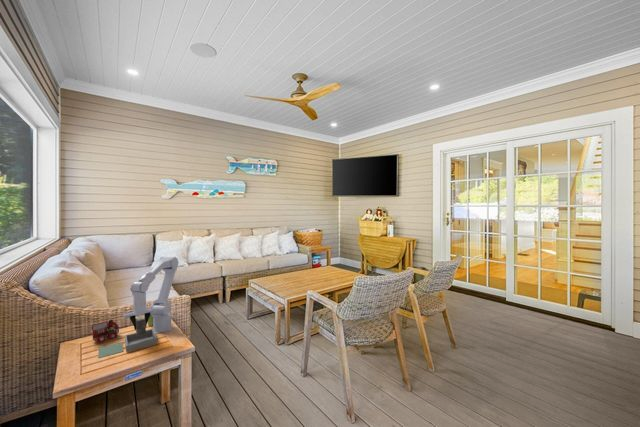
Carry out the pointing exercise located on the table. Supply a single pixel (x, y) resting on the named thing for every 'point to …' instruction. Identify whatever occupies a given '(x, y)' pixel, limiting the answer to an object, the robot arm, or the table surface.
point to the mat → (110, 350)
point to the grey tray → (140, 340)
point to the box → (140, 325)
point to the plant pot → (150, 321)
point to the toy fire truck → (104, 331)
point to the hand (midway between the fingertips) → (140, 328)
